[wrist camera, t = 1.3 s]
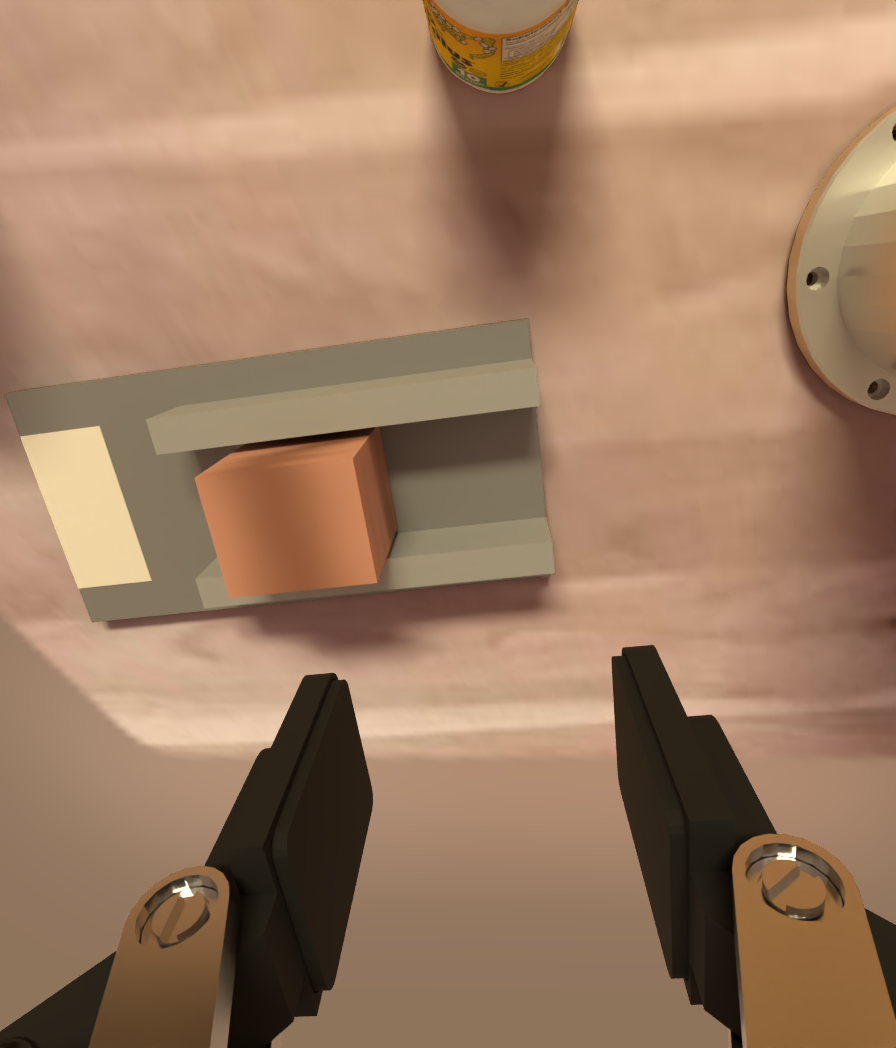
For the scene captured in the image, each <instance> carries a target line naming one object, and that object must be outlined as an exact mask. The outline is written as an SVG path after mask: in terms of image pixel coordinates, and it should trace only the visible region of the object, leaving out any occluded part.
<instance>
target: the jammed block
mask: <svg viewBox="0 0 896 1048" xmlns="http://www.w3.org/2000/svg"><path fill="white" fill-rule="evenodd" d="M194 479H195V482H196V486H197V489H198V493H199V496H200V499H201V503H202V506H203V510H204V513H205V517H206V520H207V523H208V527H209V530H210V534H211V537H212V540H213V544H214V547H215V551H216V554H217V558H218V561H219V564H220V568H221V571H222V575H223V578H224V581H225V585H226V588H227V592H228V595H229V598H236V597H245V596H255V595H265V594H275V593H285V592H294V591H304V590H314V589H324V588H334V587H344V586H353V585H363V584H373V583H378V580H379V577H380V574H381V572H382V569H383V566H384V563H385V561H386V558H387V555H388V552H389V549H390V547H391V544H392V541H393V538H394V536H395V533H396V530H397V527H398V526H397V520H396V514H395V509H394V503H393V498H392V492H391V487H390V481H389V475H388V470H387V464H386V459H385V453H384V448H383V442H382V436H381V431H380V427H372V428H364V429H356V430H348V431H340V432H333V433H325V434H317V435H309V436H301V437H293V438H286V439H278V440H270V441H262V442H254V443H247V444H244V445H242V446H241V447H239V448H238V449H237V450H235V451H234V452H232V453H231V454H229V455H228V456H226V457H225V458H223V459H222V460H220V461H219V462H217V463H216V464H214V465H213V466H211V467H210V468H208V469H207V470H205V471H204V472H202V473H201V474H199V475H198V476H196V477H195V478H194Z"/></svg>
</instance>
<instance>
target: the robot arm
mask: <svg viewBox="0 0 896 1048" xmlns="http://www.w3.org/2000/svg"><path fill="white" fill-rule="evenodd" d="M893 128H894V129H895V130H896V106H895V107H894V108H892V109H890V110H889V111H887V112H886V113H885V114H884V115H882V116H881V117H880V118H879V119H878V120H876V121H875V122H874V123H873V124H871V125H870V126H869V127H868V128H866V129H865V130H864V131H863V132H862V133H860V134H859V135H858V136H857V137H856V138H855V140H854V141H853V142H852V143H851V144H850V145H849V146H848V147H847V148H846V149H845V151H844V152H843V153H842V154H841V155H840V156H839V157H838V158H837V159H836V161H835V162H834V163H833V164H832V166H831V167H830V169H829V170H828V172H827V173H826V175H825V176H824V178H823V179H822V181H821V182H820V184H819V185H818V187H817V188H816V190H815V191H814V193H813V195H812V197H811V199H810V201H809V204H808V206H807V208H806V210H805V212H804V214H803V217H802V219H801V221H800V223H799V225H798V229H797V232H796V236H795V240H794V243H793V247H792V251H791V254H790V258H789V268H788V279H787V299H788V309H789V319H790V322H791V325H792V328H793V332H794V335H795V338H796V341H797V344H798V346H799V348H800V350H801V352H802V353H803V355H804V357H805V358H806V360H807V362H808V364H809V365H810V367H811V368H812V369H813V370H814V372H815V373H816V374H817V375H818V376H819V377H820V378H821V379H822V380H823V381H824V382H825V383H826V384H827V385H828V386H829V387H830V388H832V389H833V390H835V391H836V392H838V393H839V394H841V395H842V396H844V397H845V398H847V399H848V400H850V401H853V402H855V403H858V404H860V405H863V406H865V407H868V408H870V409H873V410H877V411H881V412H885V413H889V414H892V415H896V137H895V139H893V136H892V130H893ZM809 272H810V273H811V274H812V276H813V279H812V282H811V283H810V284H809V285H807V283H806V279H807V275H808V273H809ZM871 383H872V387H871V389H870V390H869V391H868V388H869V385H870V384H871ZM612 678H613V696H614V714H615V732H616V750H617V768H618V779H619V785H620V790H621V795H622V799H623V802H624V806H625V810H626V814H627V818H628V821H629V825H630V829H631V833H632V837H633V840H634V844H635V848H636V852H637V855H638V859H639V863H640V867H641V871H642V874H643V878H644V882H645V886H646V889H647V893H648V897H649V901H650V905H651V909H652V912H653V916H654V920H655V924H656V928H657V931H658V935H659V939H660V943H661V947H662V950H663V954H664V958H665V961H666V966H667V969H668V972H669V975H670V977H671V979H673V978H683V979H684V982H685V986H686V989H687V993H688V997H689V1000H690V1004H691V1005H699V1004H703V1007H704V1009H705V1011H707V1012H708V1013H709V1014H711V1015H712V1016H713V1017H714V1018H716V1019H717V1020H718V1021H720V1022H721V1023H722V1024H724V1025H725V1026H726V1027H727V1028H728V1037H729V1048H896V925H894V924H893V923H891V922H889V921H887V920H885V919H884V918H882V917H880V916H878V915H876V914H874V913H873V912H871V911H869V910H867V909H865V908H864V906H863V902H862V899H861V895H860V891H859V889H858V887H857V885H856V882H855V880H854V878H853V876H852V874H851V873H850V872H849V871H848V870H847V869H846V867H845V866H844V865H843V864H842V863H841V862H840V860H838V859H837V858H836V857H834V856H833V855H832V854H830V853H829V852H828V851H826V850H825V849H824V848H822V847H820V846H818V845H816V844H813V843H811V842H809V841H807V840H805V839H802V838H798V837H794V836H790V835H786V834H777V833H776V831H775V829H774V827H773V825H772V823H771V821H770V820H769V818H768V816H767V814H766V812H765V810H764V808H763V806H762V804H761V803H760V801H759V799H758V797H757V795H756V793H755V791H754V789H753V787H752V785H751V783H750V782H749V780H748V778H747V776H746V774H745V772H744V770H743V768H742V766H741V764H740V763H739V761H738V759H737V757H736V755H735V753H734V751H733V749H732V747H731V745H730V744H729V742H728V740H727V738H726V736H725V734H724V732H723V730H722V728H721V726H720V725H719V723H718V721H717V720H716V718H715V717H714V716H712V715H703V716H689V717H687V715H686V713H685V711H684V708H683V706H682V704H681V702H680V700H679V698H678V695H677V693H676V691H675V689H674V687H673V685H672V682H671V680H670V678H669V676H668V674H667V672H666V670H665V667H664V665H663V663H662V661H661V659H660V657H659V654H658V652H657V650H656V648H655V646H654V645H648V646H636V647H625V648H623V649H622V656H613V657H612ZM372 806H373V793H372V786H371V782H370V777H369V773H368V769H367V764H366V760H365V756H364V751H363V747H362V743H361V738H360V734H359V730H358V725H357V721H356V717H355V712H354V708H353V704H352V699H351V695H350V691H349V687H348V683H347V681H346V680H338V677H337V676H336V674H335V673H327V674H315V675H306V676H304V678H303V679H302V682H301V684H300V686H299V688H298V690H297V692H296V695H295V697H294V699H293V701H292V703H291V705H290V708H289V710H288V712H287V714H286V716H285V718H284V721H283V723H282V725H281V727H280V729H279V731H278V734H277V736H276V738H275V740H274V742H273V744H272V746H271V748H265V749H264V750H262V751H261V752H260V753H259V755H258V756H257V758H256V760H255V762H254V764H253V766H252V769H251V771H250V773H249V775H248V777H247V779H246V781H245V783H244V785H243V787H242V789H241V791H240V793H239V795H238V797H237V800H236V802H235V804H234V806H233V808H232V810H231V812H230V814H229V816H228V818H227V820H226V822H225V824H224V826H223V829H222V831H221V833H220V835H219V837H218V839H217V841H216V843H215V845H214V847H213V849H212V852H211V853H210V855H209V858H208V860H207V862H206V864H205V866H195V867H189V868H185V869H182V870H180V871H177V872H175V873H172V874H170V875H168V876H167V877H165V878H164V879H162V880H161V881H159V882H157V883H156V884H154V885H153V886H152V887H151V888H150V889H149V890H148V891H147V892H145V893H144V894H143V895H142V896H141V897H140V899H139V900H138V902H137V903H136V904H135V906H134V907H133V908H132V909H131V911H130V913H129V915H128V918H127V920H126V922H125V925H124V928H123V931H122V934H121V938H120V941H119V944H118V948H117V951H116V952H114V953H113V954H111V955H110V956H108V957H107V958H106V959H104V960H103V961H102V962H100V963H98V964H97V965H95V966H94V967H93V968H91V969H90V970H88V971H87V972H85V973H84V974H82V975H81V976H80V977H78V978H77V979H75V980H74V981H72V982H71V983H69V984H68V985H67V986H65V987H64V988H62V989H61V990H59V991H58V992H57V993H55V994H54V995H52V996H51V997H50V998H48V999H46V1000H45V1001H44V1002H42V1003H41V1004H39V1005H38V1006H36V1007H35V1008H34V1009H32V1010H31V1011H29V1012H28V1013H26V1014H25V1015H23V1016H22V1017H21V1018H19V1019H18V1020H16V1021H15V1022H13V1023H12V1024H10V1025H9V1026H8V1027H6V1028H5V1029H3V1030H2V1031H1V1032H0V1048H281V1032H282V1031H283V1030H284V1029H285V1028H287V1027H288V1026H289V1025H290V1024H291V1023H292V1022H293V1020H294V1017H298V1016H317V1013H318V1009H319V1004H320V1000H321V996H322V991H323V990H331V989H332V987H333V985H334V982H335V978H336V973H337V969H338V965H339V960H340V955H341V951H342V946H343V942H344V937H345V932H346V928H347V923H348V918H349V914H350V909H351V904H352V900H353V895H354V891H355V886H356V882H357V877H358V872H359V868H360V863H361V858H362V854H363V849H364V844H365V839H366V835H367V831H368V826H369V821H370V817H371V812H372Z"/></svg>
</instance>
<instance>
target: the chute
mask: <svg viewBox="0 0 896 1048" xmlns="http://www.w3.org/2000/svg"><path fill="white" fill-rule="evenodd" d="M4 395H5V397H6V400H7V403H8V405H9V408H10V410H11V413H12V416H13V418H14V421H15V423H16V426H17V429H18V431H19V434H20V438H21V441H22V443H23V446H24V449H25V451H26V454H27V456H28V459H29V462H30V464H31V467H32V469H33V472H34V475H35V477H36V480H37V482H38V485H39V488H40V490H41V493H42V495H43V498H44V501H45V503H46V506H47V508H48V511H49V514H50V516H51V519H52V521H53V524H54V527H55V529H56V532H57V534H58V537H59V540H60V542H61V545H62V547H63V550H64V553H65V555H66V558H67V560H68V563H69V566H70V568H71V571H72V573H73V576H74V579H75V581H76V584H77V586H78V589H79V590H80V593H81V595H82V598H83V600H84V603H85V606H86V608H87V611H88V613H89V616H90V619H91V621H92V622H99V621H109V620H119V619H129V618H139V617H149V616H159V615H169V614H179V613H189V612H199V611H209V610H219V609H229V608H239V607H249V606H259V605H269V604H279V603H289V602H299V601H309V600H319V599H329V598H339V597H349V596H359V595H369V594H379V593H389V592H399V591H409V590H419V589H429V588H439V587H449V586H459V585H469V584H479V583H489V582H499V581H509V580H519V579H529V578H539V577H549V576H551V574H552V573H555V567H554V556H553V544H552V539H551V535H550V531H549V527H548V523H547V519H546V511H545V500H544V489H543V478H542V467H541V456H540V445H539V434H538V423H537V412H536V406H540V396H539V385H538V374H537V366H536V365H535V363H534V361H533V360H532V356H531V345H530V334H529V323H528V319H527V318H525V319H518V320H511V321H504V322H497V323H490V324H483V325H476V326H469V327H462V328H455V329H448V330H441V331H434V332H427V333H420V334H413V335H406V336H399V337H392V338H384V339H377V340H370V341H363V342H356V343H349V344H342V345H335V346H328V347H321V348H314V349H307V350H300V351H293V352H286V353H279V354H272V355H265V356H258V357H251V358H244V359H237V360H230V361H223V362H216V363H209V364H202V365H195V366H188V367H181V368H174V369H167V370H160V371H153V372H146V373H138V374H131V375H124V376H117V377H110V378H103V379H96V380H89V381H82V382H75V383H68V384H61V385H54V386H47V387H40V388H33V389H26V390H19V391H15V392H10V393H6V394H4ZM372 427H380V431H381V436H382V442H383V448H384V453H385V459H386V464H387V470H388V475H389V481H390V487H391V492H392V498H393V503H394V509H395V514H396V520H397V526H398V527H397V530H396V533H395V536H394V538H393V541H392V544H391V547H390V549H389V552H388V555H387V558H386V561H385V563H384V566H383V569H382V572H381V574H380V577H379V580H378V583H373V584H363V585H353V586H344V587H334V588H324V589H314V590H304V591H294V592H285V593H275V594H265V595H255V596H245V597H236V598H229V595H228V592H227V588H226V585H225V581H224V578H223V575H222V571H221V568H220V564H219V561H218V558H217V554H216V551H215V547H214V544H213V540H212V537H211V534H210V530H209V527H208V523H207V520H206V517H205V513H204V510H203V506H202V503H201V499H200V496H199V493H198V489H197V486H196V482H195V479H194V478H195V477H196V476H198V475H199V474H201V473H202V472H204V471H205V470H207V469H208V468H210V467H211V466H213V465H214V464H216V463H217V462H219V461H220V460H222V459H223V458H225V457H226V456H228V455H229V454H231V453H232V452H234V451H235V450H237V449H238V448H239V447H241V446H242V445H244V444H247V443H254V442H262V441H270V440H278V439H286V438H293V437H301V436H309V435H317V434H325V433H333V432H340V431H348V430H356V429H364V428H372Z"/></svg>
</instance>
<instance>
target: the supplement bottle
mask: <svg viewBox="0 0 896 1048" xmlns="http://www.w3.org/2000/svg"><path fill="white" fill-rule="evenodd" d="M578 1H579V0H423V4H424V8H425V13H426V17H427V21H428V26H429V31H430V34H431V37H432V40H433V43H434V45H435V48H436V50H437V52H438V54H439V56H440V58H441V60H442V61H443V63H444V64H445V65H446V67H447V68H448V69H449V70H450V71H451V72H452V73H453V74H454V75H455V76H456V77H457V78H459V79H460V80H462V81H463V82H465V83H466V84H468V85H470V86H472V87H474V88H476V89H479V90H481V91H485V92H489V93H496V94H498V93H508V92H512V91H516V90H519V89H521V88H523V87H525V86H527V85H529V84H530V83H532V82H533V81H535V80H536V79H537V78H539V77H540V76H541V75H542V74H543V73H544V72H545V71H546V70H547V69H548V68H549V67H550V66H551V64H552V63H553V62H554V60H555V59H556V57H557V56H558V54H559V53H560V51H561V49H562V47H563V45H564V43H565V40H566V38H567V35H568V32H569V30H570V26H571V23H572V20H573V17H574V14H575V11H576V8H577V4H578Z"/></svg>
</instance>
